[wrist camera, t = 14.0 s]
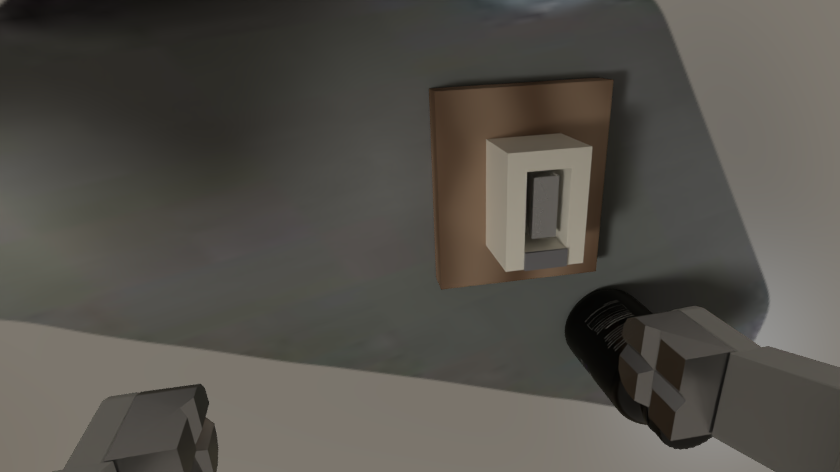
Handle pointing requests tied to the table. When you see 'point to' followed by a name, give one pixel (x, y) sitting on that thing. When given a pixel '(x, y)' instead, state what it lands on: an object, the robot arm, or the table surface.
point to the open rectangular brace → (509, 200)
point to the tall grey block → (541, 204)
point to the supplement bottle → (612, 352)
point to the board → (466, 165)
